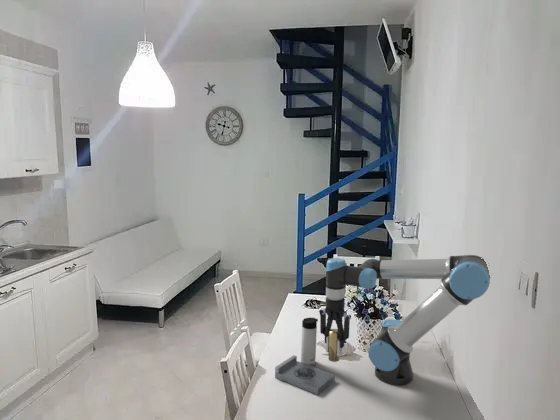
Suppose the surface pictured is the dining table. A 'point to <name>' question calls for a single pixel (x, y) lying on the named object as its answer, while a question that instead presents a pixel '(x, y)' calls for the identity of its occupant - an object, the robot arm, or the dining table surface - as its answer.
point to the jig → (294, 370)
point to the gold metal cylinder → (333, 345)
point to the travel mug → (309, 341)
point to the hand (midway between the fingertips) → (334, 352)
